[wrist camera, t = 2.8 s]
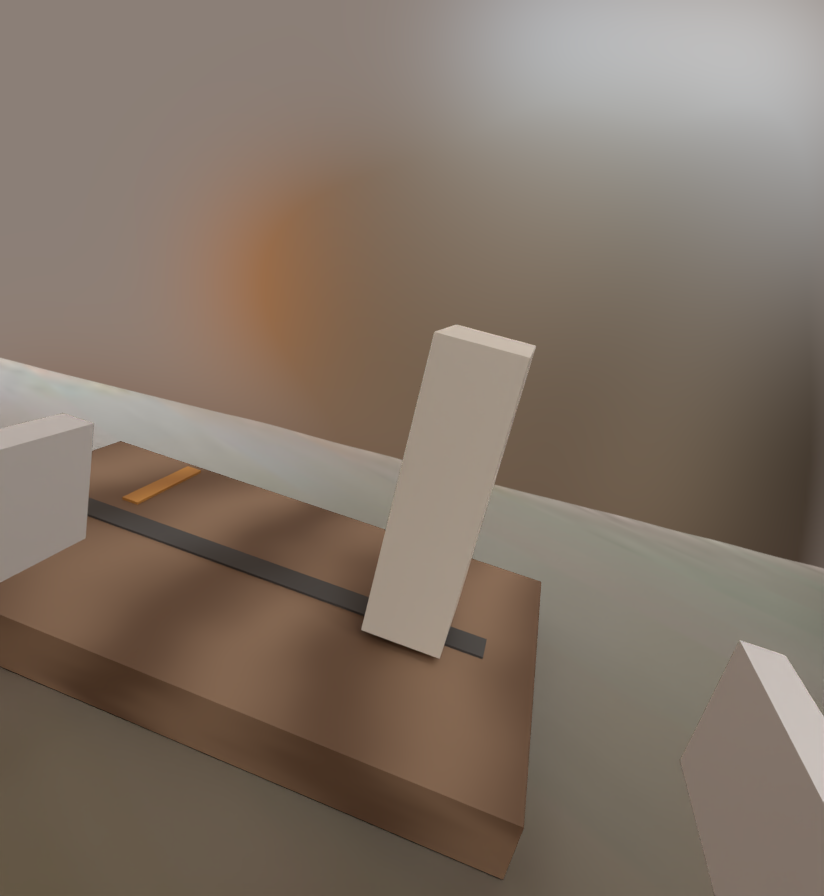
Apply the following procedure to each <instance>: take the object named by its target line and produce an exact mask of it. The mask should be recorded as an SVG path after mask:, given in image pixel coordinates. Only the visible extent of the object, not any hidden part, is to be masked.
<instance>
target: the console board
mask: <svg viewBox="0 0 824 896" xmlns="http://www.w3.org/2000/svg"><path fill="white" fill-rule="evenodd" d="M385 531H386V530H385V529H382V528H379V527H376V526H373V525H370V524H367V523H364V522H361V521H358V520H355V519H352V518H349V517H346V516H343V515H340V514H337V513H334V512H331V511H328V510H325V509H322V508H319V507H316V506H313V505H310V504H307V503H304V502H301V501H298V500H295V499H292V498H289V497H286V496H283V495H280V494H277V493H274V492H271V491H268V490H265V489H262V488H259V487H256V486H253V485H250V484H247V483H244V482H241V481H238V480H235V479H232V478H229V477H226V476H223V475H220V474H217V473H214V472H211V471H208V470H205V469H202V468H199V467H196V466H193V465H190V464H187V463H184V462H181V461H178V460H175V459H172V458H169V457H166V456H163V455H160V454H157V453H154V452H151V451H149V450H146V449H143V448H140V447H137V446H134V445H131V444H128V443H125V442H122V441H120V442H117V443H114V444H111V445H108V446H105V447H102V448H99V449H96V450H94V451H92V458H91V471H90V485H89V499H88V512H87V526H86V538H85V539H83V540H81V541H79V542H77V543H76V544H74V545H72V546H70V547H68V548H66V549H64V550H62V551H60V552H58V553H56V554H54V555H52V556H50V557H49V558H47V559H45V560H43V561H41V562H39V563H37V564H35V565H33V566H31V567H29V568H27V569H25V570H23V571H22V572H20V573H18V574H16V575H14V576H12V577H10V578H8V579H6V580H4V581H2V582H0V667H3V668H5V669H7V670H10V671H12V672H15V673H17V674H19V675H22V676H24V677H26V678H29V679H31V680H33V681H36V682H38V683H40V684H43V685H45V686H47V687H50V688H52V689H55V690H57V691H59V692H62V693H64V694H66V695H69V696H71V697H73V698H76V699H78V700H80V701H83V702H85V703H88V704H90V705H92V706H95V707H97V708H99V709H102V710H104V711H106V712H109V713H111V714H113V715H116V716H118V717H121V718H123V719H125V720H128V721H130V722H132V723H135V724H137V725H139V726H142V727H144V728H146V729H149V730H151V731H154V732H156V733H158V734H161V735H163V736H165V737H168V738H170V739H172V740H175V741H177V742H179V743H182V744H184V745H186V746H189V747H191V748H194V749H196V750H198V751H201V752H203V753H205V754H208V755H210V756H212V757H215V758H217V759H219V760H222V761H224V762H227V763H229V764H231V765H234V766H236V767H238V768H241V769H243V770H245V771H248V772H250V773H252V774H255V775H257V776H260V777H262V778H264V779H267V780H269V781H271V782H274V783H276V784H278V785H281V786H283V787H285V788H288V789H290V790H293V791H295V792H297V793H300V794H302V795H304V796H307V797H309V798H311V799H314V800H316V801H318V802H321V803H323V804H325V805H328V806H330V807H333V808H335V809H337V810H340V811H342V812H344V813H347V814H349V815H351V816H354V817H356V818H358V819H361V820H363V821H366V822H368V823H370V824H373V825H375V826H377V827H380V828H382V829H384V830H387V831H389V832H391V833H394V834H396V835H399V836H401V837H403V838H406V839H408V840H410V841H413V842H415V843H417V844H420V845H422V846H424V847H427V848H429V849H431V850H434V851H436V852H439V853H441V854H443V855H446V856H448V857H450V858H453V859H455V860H457V861H460V862H462V863H464V864H467V865H469V866H472V867H474V868H476V869H479V870H481V871H483V872H486V873H488V874H490V875H493V876H495V877H497V878H500V879H502V880H503V879H504V876H505V874H506V871H507V869H508V866H509V864H510V861H511V859H512V856H513V854H514V851H515V849H516V846H517V844H518V841H519V839H520V836H521V834H522V831H523V829H524V819H525V805H526V790H527V776H528V762H529V748H530V734H531V720H532V705H533V691H534V677H535V663H536V649H537V635H538V620H539V606H540V592H541V582H540V581H537V580H534V579H531V578H528V577H525V576H522V575H519V574H516V573H513V572H510V571H507V570H504V569H501V568H498V567H495V566H492V565H489V564H486V563H483V562H480V561H477V560H474V559H471V562H470V565H469V569H468V572H467V575H466V579H465V582H464V585H463V589H462V592H461V595H460V598H459V602H458V605H457V608H456V611H455V614H454V617H453V620H452V623H451V626H450V629H449V632H448V635H447V638H446V641H445V644H444V647H443V650H442V653H441V656H440V659H439V658H436V657H433V656H430V655H428V654H425V653H422V652H420V651H417V650H414V649H411V648H409V647H406V646H403V645H401V644H398V643H395V642H392V641H390V640H387V639H384V638H381V637H379V636H376V635H373V634H371V633H368V632H365V631H362V630H361V628H362V624H363V620H364V616H365V612H366V608H367V604H368V600H369V596H370V592H371V588H372V583H373V579H374V575H375V571H376V567H377V563H378V559H379V555H380V551H381V547H382V543H383V539H384V535H385Z"/></svg>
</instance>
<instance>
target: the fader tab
mask: <svg viewBox="0 0 824 896" xmlns="http://www.w3.org/2000/svg"><path fill="white" fill-rule="evenodd" d="M535 348H536V346H534V345H531V344H527V343H524V342H520V341H516V340H512V339H509V338H505V337H501V336H497V335H493V334H490V333H486V332H482V331H478V330H475V329H471V328H468V327H464V326H460V325H454V326H451V327H448V328H445V329H442V330H439V331H436V332H434V335H433V340H432V344H431V348H430V352H429V356H428V360H427V364H426V368H425V372H424V376H423V380H422V384H421V389H420V392H419V397H418V401H417V405H416V409H415V413H414V417H413V421H412V425H411V429H410V433H409V437H408V441H407V445H406V449H405V453H404V458H403V461H402V466H401V470H400V474H399V478H398V482H397V486H396V490H395V494H394V498H393V502H392V506H391V510H390V514H389V518H388V522H387V527H386V531H385V535H384V539H383V543H382V547H381V551H380V555H379V559H378V563H377V567H376V571H375V575H374V579H373V583H372V588H371V592H370V596H369V600H368V604H367V608H366V612H365V616H364V620H363V624H362V628H361V630H362V631H365V632H368V633H371V634H373V635H376V636H379V637H381V638H384V639H387V640H390V641H392V642H395V643H398V644H401V645H403V646H406V647H409V648H411V649H414V650H417V651H420V652H422V653H425V654H428V655H430V656H433V657H436V658H439V659H440V656H441V653H442V650H443V647H444V644H445V641H446V638H447V635H448V632H449V629H450V626H451V623H452V620H453V617H454V614H455V611H456V608H457V605H458V602H459V598H460V595H461V592H462V589H463V585H464V582H465V579H466V575H467V572H468V569H469V565H470V562H471V559H472V556H473V552H474V549H475V546H476V542H477V539H478V536H479V532H480V529H481V526H482V522H483V519H484V516H485V513H486V509H487V506H488V503H489V499H490V496H491V493H492V489H493V486H494V483H495V479H496V476H497V473H498V470H499V466H500V463H501V460H502V456H503V453H504V450H505V447H506V443H507V440H508V437H509V433H510V430H511V427H512V423H513V420H514V416H515V414H516V410H517V407H518V403H519V400H520V397H521V394H522V390H523V387H524V383H525V381H526V377H527V374H528V371H529V367H530V364H531V360H532V357H533V354H534V351H535Z"/></svg>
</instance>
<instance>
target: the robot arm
mask: <svg viewBox="0 0 824 896" xmlns="http://www.w3.org/2000/svg"><path fill="white" fill-rule="evenodd" d="M93 430H94V423H92V422H89V421H86V420H83V419H80V418H77V417H74V416H71V415H68V414H65V413H61V414H57V415H53V416H49V417H44V418H40V419H36V420H32V421H28V422H24V423H20V424H16V425H12V426H7V427H3V428H0V582H2V581H4V580H6V579H8V578H10V577H12V576H14V575H16V574H18V573H20V572H22V571H23V570H25V569H27V568H29V567H31V566H33V565H35V564H37V563H39V562H41V561H43V560H45V559H47V558H49V557H50V556H52V555H54V554H56V553H58V552H60V551H62V550H64V549H66V548H68V547H70V546H72V545H74V544H76V543H77V542H79V541H81V540H83V539H85V538H86V526H87V512H88V499H89V485H90V471H91V458H92V444H93ZM680 762H681V766H682V770H683V774H684V778H685V782H686V786H687V790H688V794H689V798H690V801H691V805H692V809H693V813H694V817H695V821H696V825H697V829H698V833H699V837H700V840H701V844H702V848H703V852H704V856H705V860H706V864H707V868H708V872H709V876H710V880H711V883H712V887H713V891H714V895H715V896H824V716H823V715H822V713H821V712H820V710H819V708H818V707H817V705H816V703H815V702H814V700H813V699H812V697H811V695H810V694H809V692H808V691H807V689H806V687H805V686H804V684H803V683H802V681H801V679H800V678H799V676H798V675H797V673H796V671H795V670H794V668H793V666H792V665H791V663H790V662H789V660H788V658H787V657H786V655H783V654H780V653H777V652H774V651H771V650H768V649H765V648H762V647H759V646H756V645H753V644H750V643H747V642H744V641H741V640H739V642H738V644H737V646H736V648H735V650H734V652H733V654H732V656H731V658H730V660H729V662H728V664H727V667H726V669H725V671H724V673H723V675H722V677H721V679H720V681H719V683H718V685H717V687H716V689H715V691H714V693H713V695H712V697H711V699H710V701H709V703H708V705H707V707H706V709H705V711H704V713H703V715H702V717H701V719H700V721H699V723H698V725H697V727H696V729H695V731H694V733H693V735H692V737H691V739H690V741H689V743H688V745H687V747H686V749H685V751H684V753H683V755H682V757H681V759H680Z"/></svg>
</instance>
